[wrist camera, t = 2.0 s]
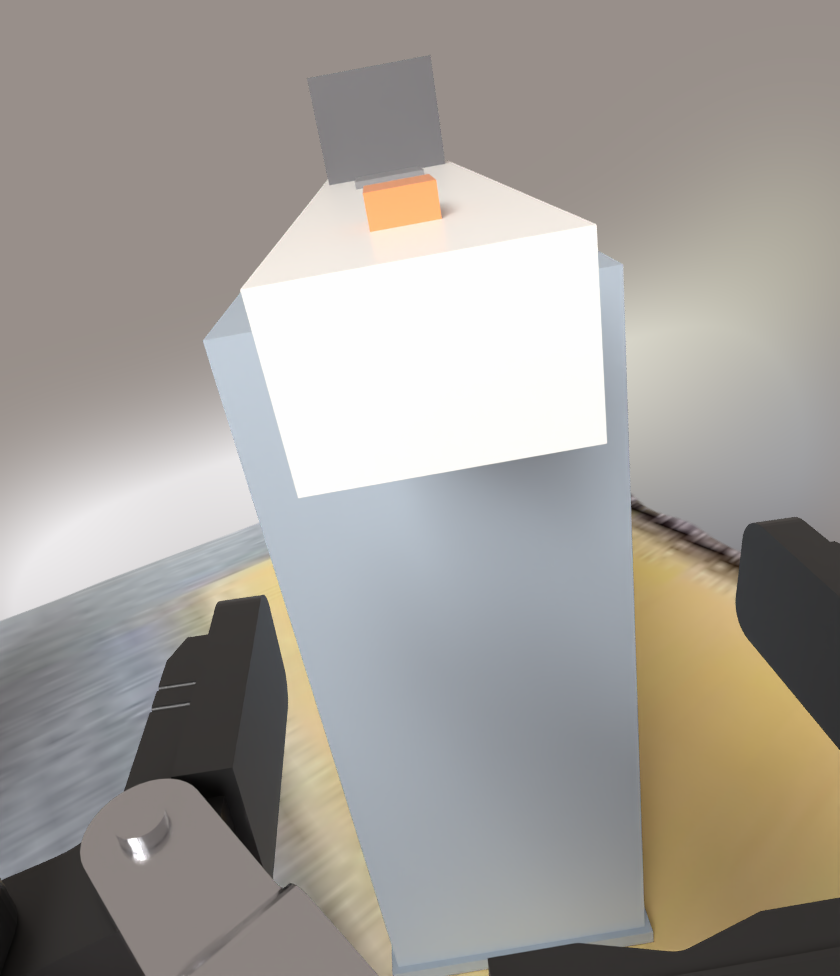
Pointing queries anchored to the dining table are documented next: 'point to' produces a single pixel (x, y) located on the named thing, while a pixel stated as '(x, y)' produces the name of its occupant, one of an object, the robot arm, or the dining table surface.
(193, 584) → the dining table surface
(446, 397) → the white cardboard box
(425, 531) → the post
